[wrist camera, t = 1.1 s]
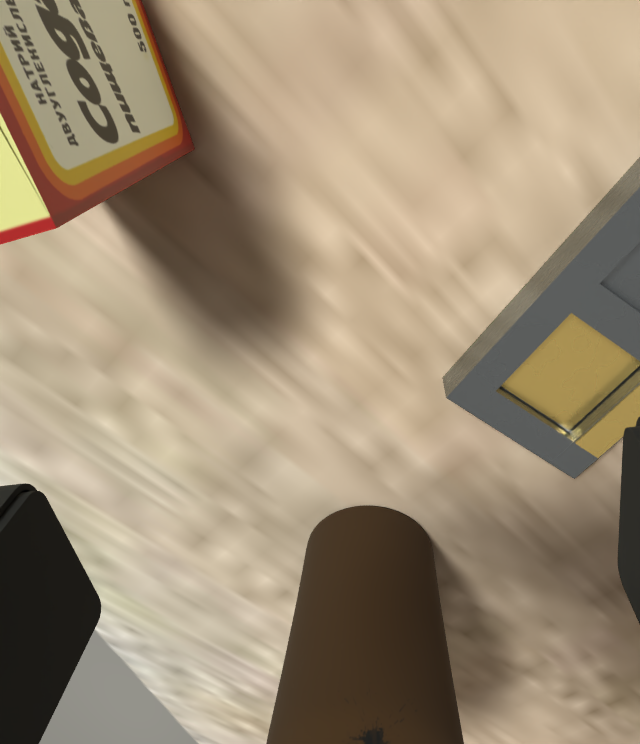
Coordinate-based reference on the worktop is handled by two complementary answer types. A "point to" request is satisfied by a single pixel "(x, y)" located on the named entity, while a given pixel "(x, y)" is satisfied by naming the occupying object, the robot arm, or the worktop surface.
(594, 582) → the worktop surface
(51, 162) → the baking soda box
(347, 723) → the olive oil
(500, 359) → the tray with square compartments
